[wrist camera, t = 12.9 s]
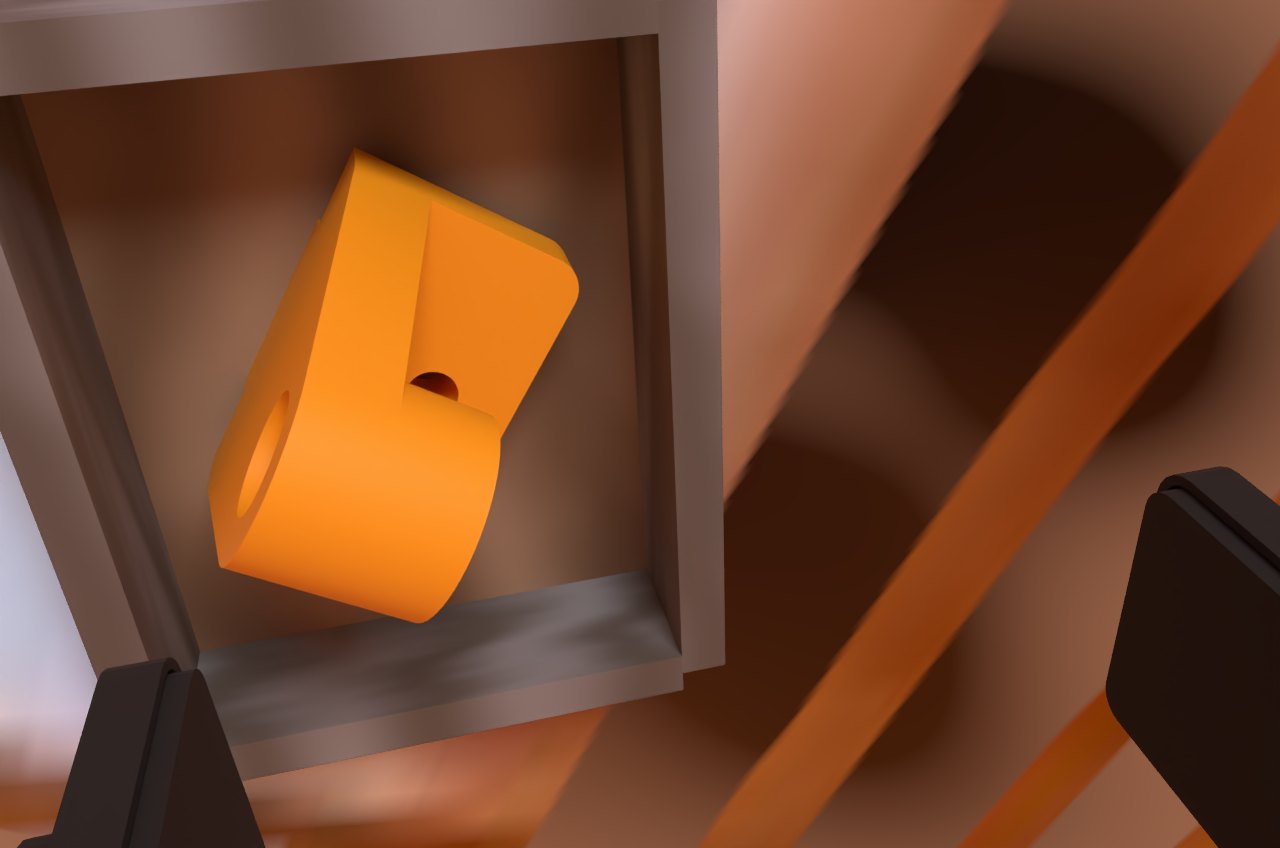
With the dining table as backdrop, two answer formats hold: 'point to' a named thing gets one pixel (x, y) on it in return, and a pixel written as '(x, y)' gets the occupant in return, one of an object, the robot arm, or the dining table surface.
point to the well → (530, 446)
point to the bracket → (386, 394)
